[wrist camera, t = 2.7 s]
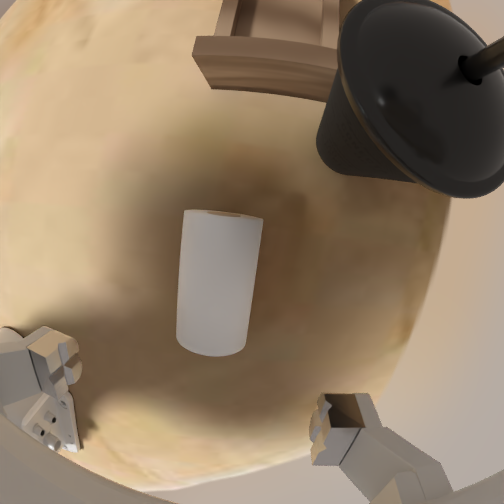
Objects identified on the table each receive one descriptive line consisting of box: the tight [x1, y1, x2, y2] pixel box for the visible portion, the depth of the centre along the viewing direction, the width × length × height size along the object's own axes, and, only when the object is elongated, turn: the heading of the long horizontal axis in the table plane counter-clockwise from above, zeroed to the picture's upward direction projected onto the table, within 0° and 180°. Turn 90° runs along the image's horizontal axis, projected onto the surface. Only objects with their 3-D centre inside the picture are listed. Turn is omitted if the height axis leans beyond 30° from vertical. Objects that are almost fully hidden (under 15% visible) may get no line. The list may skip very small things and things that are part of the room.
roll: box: [176, 209, 263, 357], centre depth 19 cm, size 9×5×5 cm, turn 172°
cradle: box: [192, 0, 339, 103], centre depth 14 cm, size 14×9×6 cm, turn 172°
